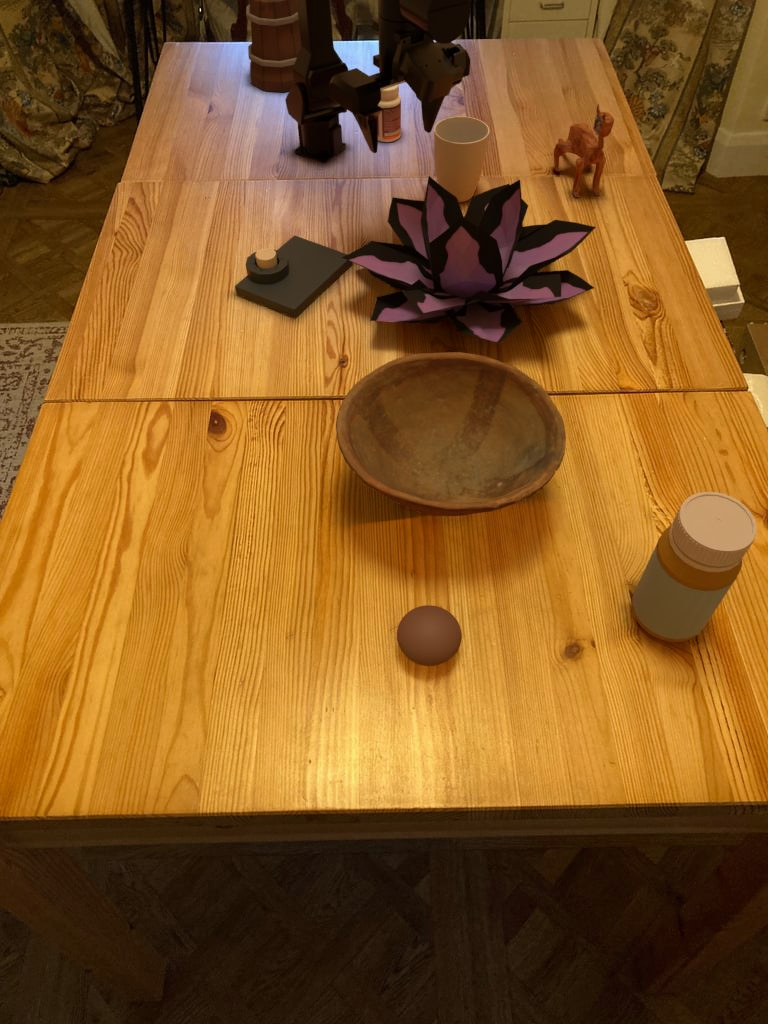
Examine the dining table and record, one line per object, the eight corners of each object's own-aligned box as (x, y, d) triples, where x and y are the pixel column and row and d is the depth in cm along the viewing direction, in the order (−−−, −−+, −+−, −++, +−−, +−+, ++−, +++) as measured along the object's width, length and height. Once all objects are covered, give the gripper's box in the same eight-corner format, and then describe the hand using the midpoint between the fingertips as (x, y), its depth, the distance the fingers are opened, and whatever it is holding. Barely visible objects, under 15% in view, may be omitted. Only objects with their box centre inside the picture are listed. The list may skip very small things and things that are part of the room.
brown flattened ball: (452, 614, 75) (455, 592, 71) (466, 669, 71) (469, 649, 68) (391, 622, 74) (391, 601, 71) (402, 678, 70) (402, 658, 67)
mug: (251, 94, 141) (239, 2, 130) (251, 66, 149) (238, -24, 137) (336, 89, 142) (331, -3, 130) (331, 61, 150) (326, -29, 138)
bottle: (621, 585, 76) (662, 490, 64) (689, 579, 77) (744, 484, 65) (641, 648, 72) (689, 559, 60) (713, 642, 72) (776, 552, 60)
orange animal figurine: (539, 148, 129) (552, 60, 118) (577, 144, 129) (593, 57, 118) (571, 206, 118) (589, 115, 107) (612, 202, 118) (634, 111, 107)
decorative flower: (333, 368, 96) (317, 260, 85) (367, 236, 117) (358, 135, 106) (596, 373, 92) (615, 261, 81) (583, 236, 113) (597, 131, 102)
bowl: (493, 606, 75) (505, 548, 67) (303, 509, 82) (293, 447, 75) (582, 462, 86) (601, 398, 78) (407, 389, 94) (409, 323, 86)
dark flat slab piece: (231, 292, 106) (227, 274, 103) (290, 241, 113) (288, 223, 110) (295, 318, 102) (293, 299, 100) (352, 264, 109) (351, 245, 107)
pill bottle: (405, 132, 132) (405, 81, 126) (393, 145, 130) (393, 93, 123) (380, 127, 134) (379, 75, 127) (368, 139, 131) (367, 88, 124)
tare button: (252, 265, 105) (251, 255, 104) (265, 255, 106) (263, 245, 105) (269, 272, 104) (267, 262, 103) (281, 261, 105) (280, 251, 104)
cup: (483, 180, 123) (489, 117, 115) (482, 208, 118) (489, 144, 110) (432, 178, 123) (435, 115, 115) (429, 206, 118) (432, 142, 110)
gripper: (378, 56, 85) (380, 189, 97) (504, 15, 92) (491, 144, 104) (323, 24, 91) (331, 153, 103) (446, -13, 97) (440, 113, 110)
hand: (401, 141), depth 105 cm, fingers open, 9 cm apart
